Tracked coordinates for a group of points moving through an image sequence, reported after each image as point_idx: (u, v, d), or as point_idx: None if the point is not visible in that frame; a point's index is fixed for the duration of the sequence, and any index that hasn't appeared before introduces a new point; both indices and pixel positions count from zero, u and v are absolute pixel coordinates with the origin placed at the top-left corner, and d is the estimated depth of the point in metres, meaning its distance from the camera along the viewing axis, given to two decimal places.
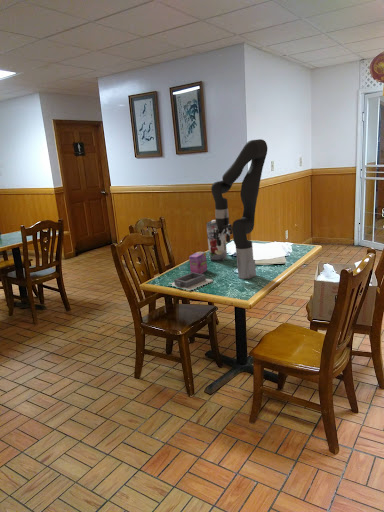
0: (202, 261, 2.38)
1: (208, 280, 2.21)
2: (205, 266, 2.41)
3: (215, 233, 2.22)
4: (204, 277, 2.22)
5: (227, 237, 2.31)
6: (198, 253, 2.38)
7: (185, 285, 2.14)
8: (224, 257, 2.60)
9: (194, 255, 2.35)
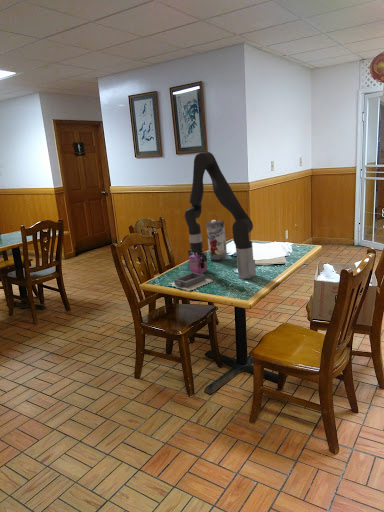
0: None
1: (208, 280, 2.21)
2: (205, 266, 2.41)
3: (205, 256, 2.33)
4: (204, 277, 2.22)
5: None
6: None
7: (185, 285, 2.14)
8: (224, 257, 2.60)
9: (194, 255, 2.35)
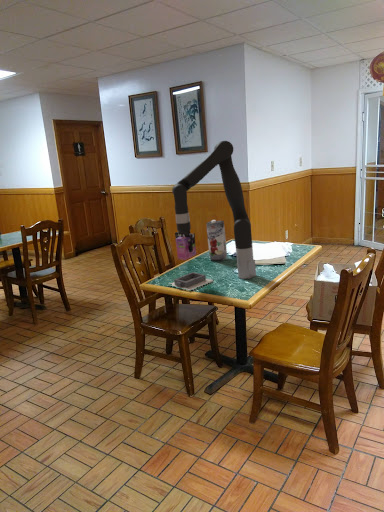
0: None
1: (208, 280, 2.21)
2: (194, 250, 2.18)
3: (193, 238, 2.10)
4: (204, 277, 2.22)
5: None
6: None
7: (185, 285, 2.14)
8: (224, 257, 2.60)
9: (181, 237, 2.13)
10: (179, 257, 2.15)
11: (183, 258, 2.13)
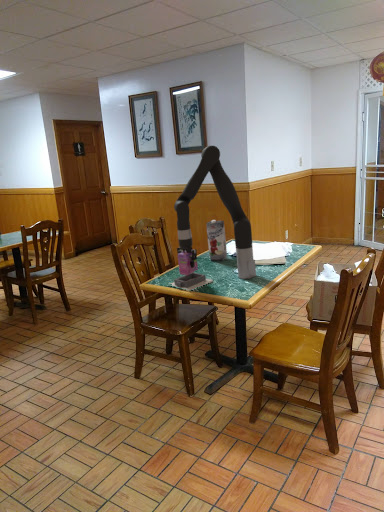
0: None
1: (208, 280, 2.21)
2: (195, 265, 2.21)
3: (195, 254, 2.13)
4: (204, 277, 2.22)
5: None
6: None
7: (185, 285, 2.14)
8: (224, 257, 2.60)
9: (183, 253, 2.15)
10: (181, 272, 2.17)
11: (184, 274, 2.16)
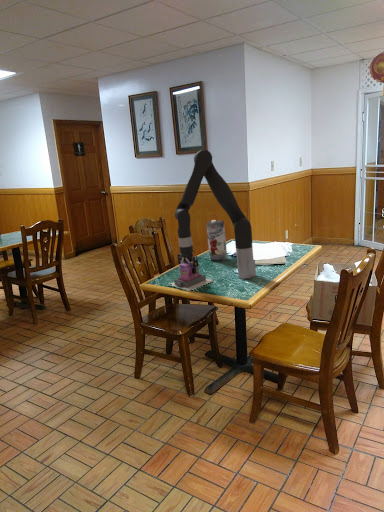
0: None
1: (208, 280, 2.21)
2: (197, 275, 2.22)
3: (196, 260, 2.13)
4: (204, 277, 2.22)
5: None
6: None
7: (185, 285, 2.14)
8: (224, 257, 2.60)
9: (185, 263, 2.17)
10: None
11: None
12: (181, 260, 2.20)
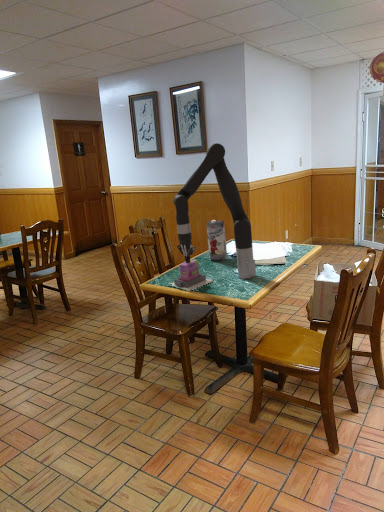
0: (194, 270, 2.19)
1: (208, 280, 2.21)
2: (197, 275, 2.22)
3: (192, 251, 2.14)
4: (204, 277, 2.22)
5: None
6: None
7: (185, 285, 2.14)
8: (224, 257, 2.60)
9: (185, 263, 2.17)
10: None
11: None
12: (182, 249, 2.17)
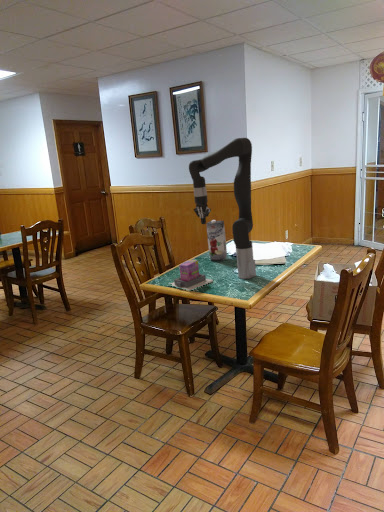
0: (194, 270, 2.19)
1: (208, 280, 2.21)
2: (197, 275, 2.22)
3: (208, 212, 2.30)
4: (204, 277, 2.22)
5: None
6: (189, 261, 2.20)
7: (185, 285, 2.14)
8: (224, 257, 2.60)
9: (185, 263, 2.17)
10: None
11: None
12: (198, 212, 2.33)
